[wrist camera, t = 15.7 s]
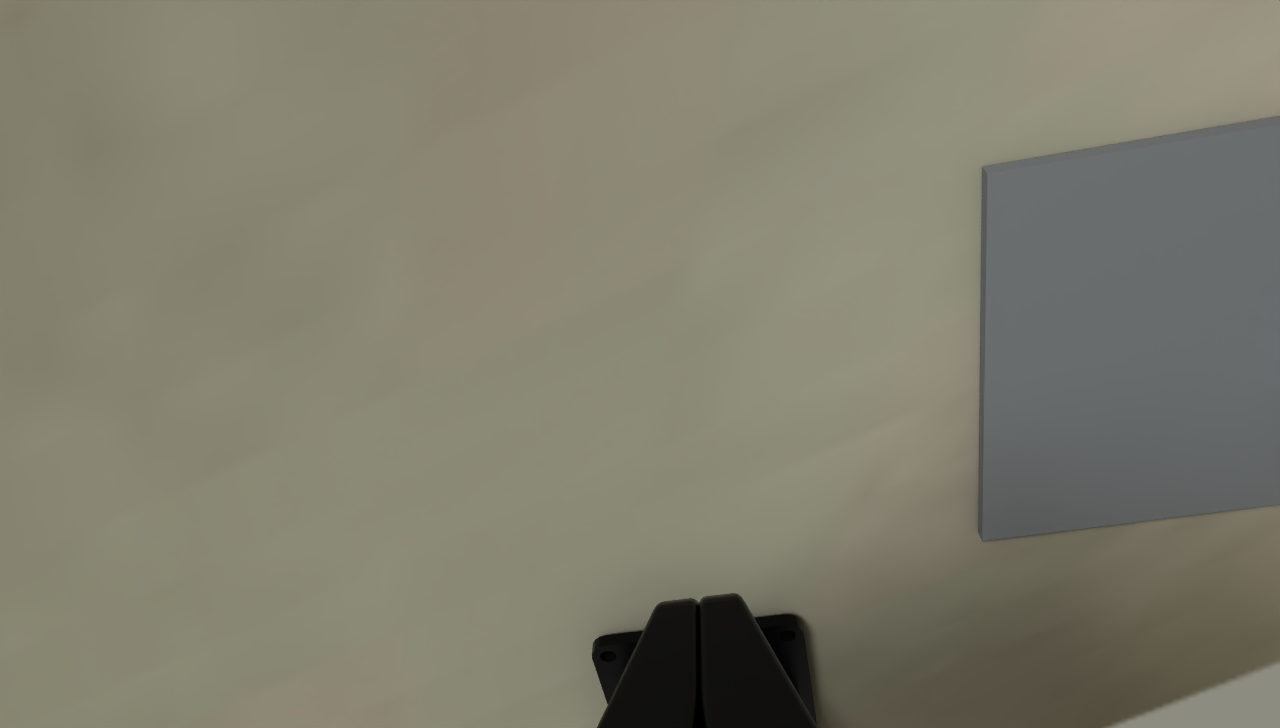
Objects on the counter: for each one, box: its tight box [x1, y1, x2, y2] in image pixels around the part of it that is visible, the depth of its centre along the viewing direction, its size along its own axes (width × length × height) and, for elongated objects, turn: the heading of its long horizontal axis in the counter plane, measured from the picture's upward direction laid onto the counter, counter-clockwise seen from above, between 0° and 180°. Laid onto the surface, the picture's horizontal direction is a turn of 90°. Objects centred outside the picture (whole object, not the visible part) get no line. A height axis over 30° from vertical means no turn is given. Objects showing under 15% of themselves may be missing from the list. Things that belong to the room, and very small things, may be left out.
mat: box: [978, 116, 1280, 541], centre depth 22 cm, size 11×13×1 cm
